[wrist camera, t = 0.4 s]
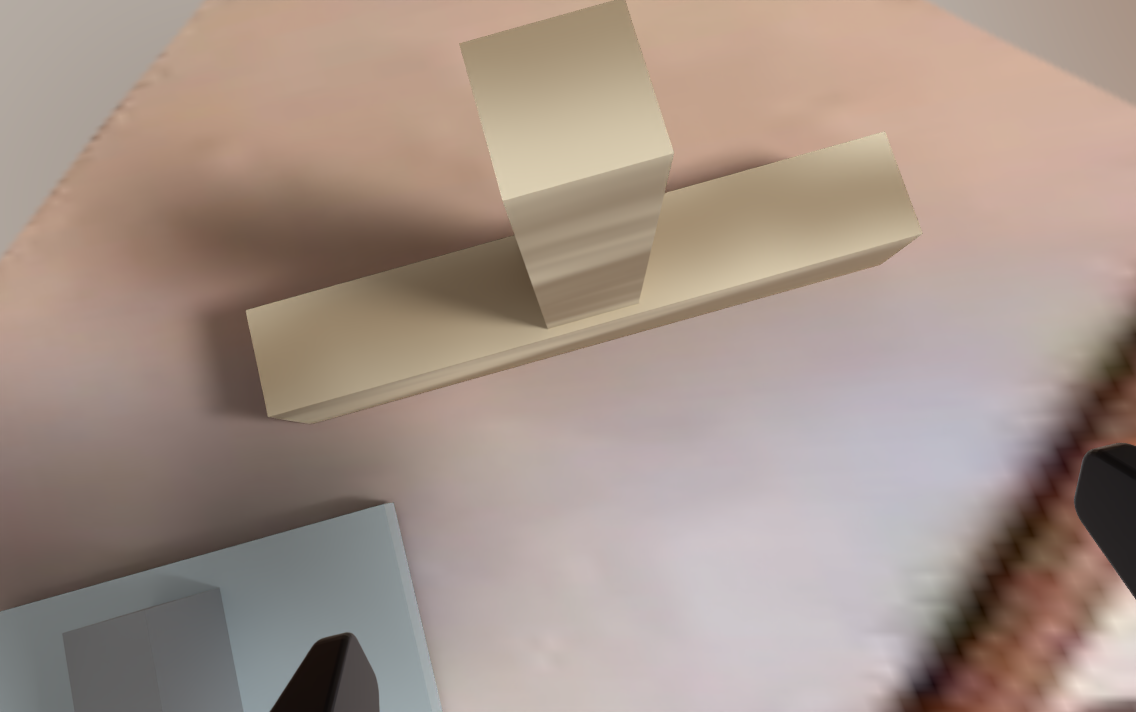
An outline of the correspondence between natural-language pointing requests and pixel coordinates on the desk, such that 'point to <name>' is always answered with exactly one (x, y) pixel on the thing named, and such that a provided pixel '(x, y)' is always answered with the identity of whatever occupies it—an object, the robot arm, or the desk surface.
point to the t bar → (578, 233)
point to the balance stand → (225, 627)
